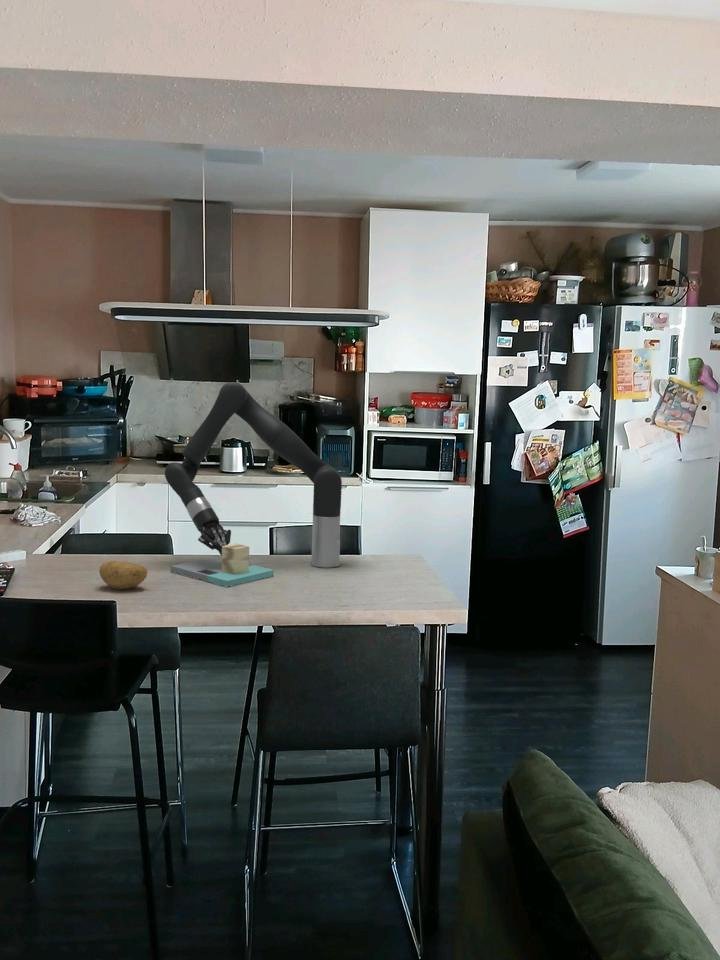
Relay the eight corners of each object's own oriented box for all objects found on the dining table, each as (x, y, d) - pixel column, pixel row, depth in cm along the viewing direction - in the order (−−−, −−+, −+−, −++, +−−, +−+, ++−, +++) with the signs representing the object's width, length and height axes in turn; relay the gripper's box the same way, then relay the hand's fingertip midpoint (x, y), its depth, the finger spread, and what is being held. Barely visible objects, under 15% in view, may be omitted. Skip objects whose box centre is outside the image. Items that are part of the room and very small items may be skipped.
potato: (140, 594, 250) (140, 567, 249) (93, 590, 252) (93, 563, 251) (152, 585, 260) (152, 559, 259) (107, 582, 262) (107, 556, 261)
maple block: (221, 571, 273) (222, 546, 272) (235, 568, 277) (236, 543, 276) (234, 574, 269) (235, 549, 268) (248, 571, 274) (249, 546, 273)
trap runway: (170, 572, 277) (170, 565, 277) (217, 562, 293) (217, 556, 293) (227, 587, 262) (227, 580, 261) (273, 576, 277) (273, 570, 277)
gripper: (192, 509, 274) (218, 553, 268) (223, 505, 284) (249, 547, 278) (180, 523, 278) (206, 567, 272) (212, 518, 288) (237, 561, 282)
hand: (227, 557), depth 275 cm, fingers closed
